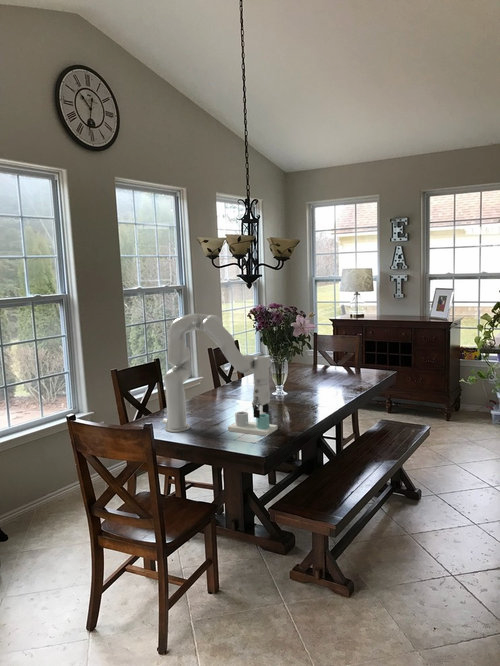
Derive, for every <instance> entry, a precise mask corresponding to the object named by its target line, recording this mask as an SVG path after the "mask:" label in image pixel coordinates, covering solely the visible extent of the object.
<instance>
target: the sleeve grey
mask: <svg viewBox="0 0 500 666" xmlns="http://www.w3.org/2000/svg"><path fill="white" fill-rule="evenodd" d="M234 415H235V416H234V417H235V423H236V426H240V427H242V426H247V425H248V422H249V413H248V412H247V411H237V412H235V413H234Z"/></svg>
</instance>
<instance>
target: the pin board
mask: <svg viewBox="0 0 500 666" xmlns="http://www.w3.org/2000/svg"><path fill="white" fill-rule="evenodd" d="M269 425H270V427H269V428H268V429H258V428H257V425H256V421H248V425H247V426H242V427H240V426H236V422H234V423H232V424H230V425H228V426H227V432H233V433H234V432H235V433H242V434H251V435H256V436H264V437H267V436H269V435H270V434H272V433H274V432H275V431H277V430H278V425H277V424H271V423H269Z"/></svg>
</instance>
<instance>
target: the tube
mask: <svg viewBox="0 0 500 666" xmlns="http://www.w3.org/2000/svg"><path fill="white" fill-rule="evenodd" d="M256 406H257V405H256ZM257 407H258V406H257ZM259 410H260V414H267V413H264V412H263V406H261V405H260V408H259Z"/></svg>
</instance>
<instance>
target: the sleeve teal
mask: <svg viewBox="0 0 500 666" xmlns="http://www.w3.org/2000/svg"><path fill="white" fill-rule="evenodd" d="M255 422H256V425H257V428H258V429H268V428H269V427H270V425H269V424H270V415H269V414H268V413H266V414H260V418H256V419H255Z"/></svg>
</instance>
